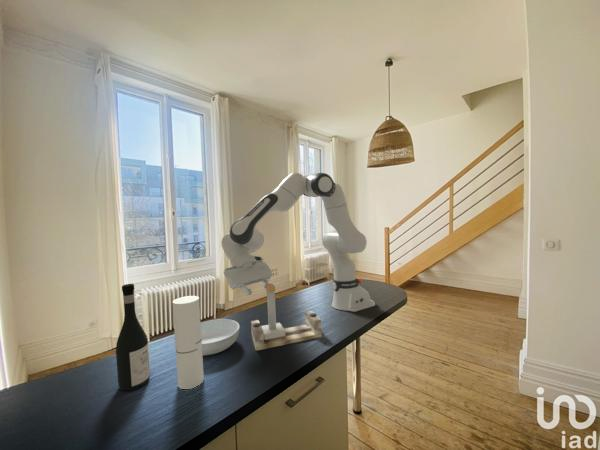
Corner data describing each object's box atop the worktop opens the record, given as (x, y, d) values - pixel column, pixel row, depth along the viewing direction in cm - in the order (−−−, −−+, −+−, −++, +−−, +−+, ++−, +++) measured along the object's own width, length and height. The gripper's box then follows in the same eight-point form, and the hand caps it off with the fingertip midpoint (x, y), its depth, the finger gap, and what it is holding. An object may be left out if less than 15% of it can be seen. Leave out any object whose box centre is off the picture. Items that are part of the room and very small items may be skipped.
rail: (312, 326, 111) (311, 309, 111) (321, 336, 102) (321, 318, 102) (251, 338, 103) (250, 320, 103) (255, 350, 93) (254, 330, 93)
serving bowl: (223, 330, 112) (222, 314, 111) (251, 346, 97) (250, 328, 97) (173, 349, 97) (171, 331, 97) (196, 371, 82) (194, 350, 82)
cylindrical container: (208, 376, 79) (204, 296, 78) (192, 392, 73) (186, 304, 71) (190, 372, 82) (185, 295, 81) (172, 387, 75) (166, 302, 74)
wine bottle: (156, 375, 81) (149, 280, 80) (137, 392, 73) (130, 288, 72) (132, 374, 82) (125, 281, 81) (111, 392, 74) (103, 288, 73)
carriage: (280, 327, 106) (277, 280, 105) (285, 335, 98) (283, 285, 97) (260, 331, 103) (258, 282, 102) (264, 340, 95) (262, 287, 94)
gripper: (224, 264, 101) (240, 293, 95) (264, 256, 116) (280, 281, 110) (219, 274, 105) (234, 302, 98) (259, 265, 120) (274, 289, 114)
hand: (259, 291), depth 105 cm, fingers open, 8 cm apart
